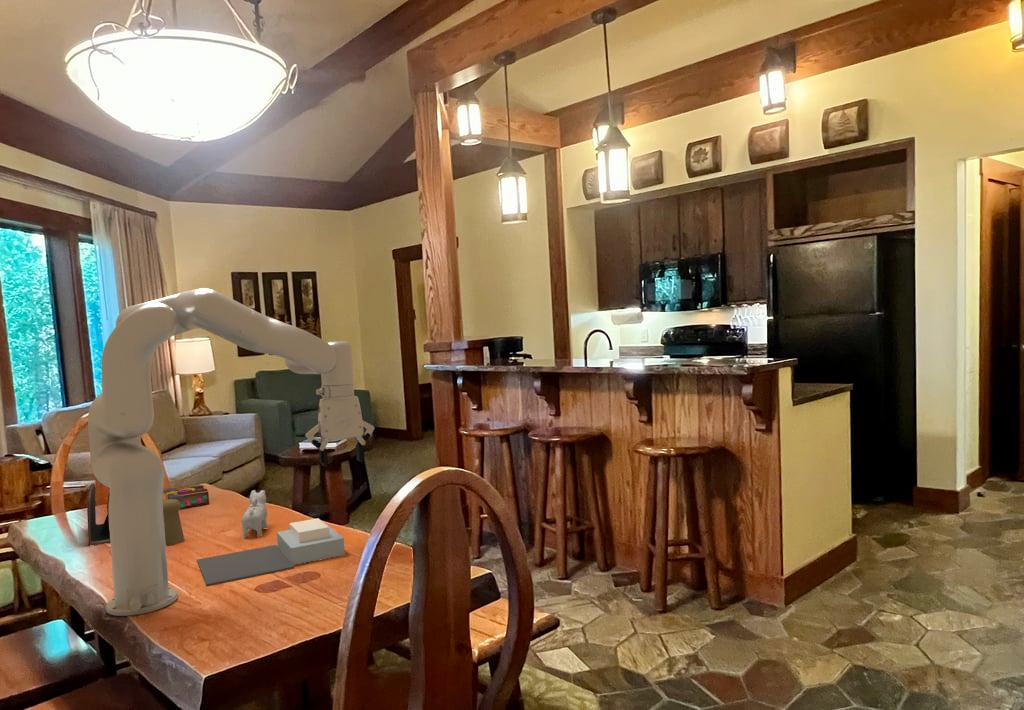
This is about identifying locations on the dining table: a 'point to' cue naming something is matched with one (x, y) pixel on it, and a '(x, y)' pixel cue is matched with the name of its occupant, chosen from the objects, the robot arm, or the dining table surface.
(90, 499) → the letter holder
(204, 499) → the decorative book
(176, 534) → the olive green upright block
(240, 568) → the mat
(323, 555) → the block
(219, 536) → the dining table surface
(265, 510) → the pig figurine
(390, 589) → the dining table surface
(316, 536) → the cream rounded box
